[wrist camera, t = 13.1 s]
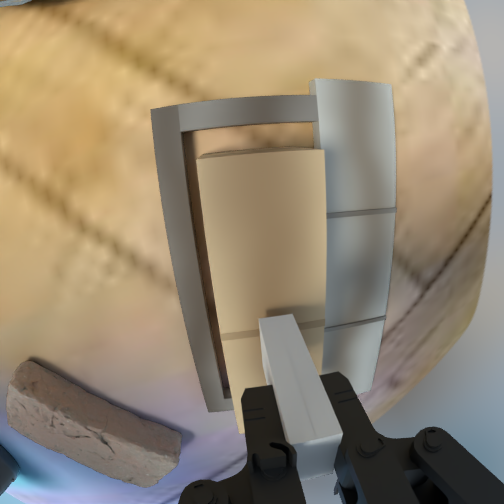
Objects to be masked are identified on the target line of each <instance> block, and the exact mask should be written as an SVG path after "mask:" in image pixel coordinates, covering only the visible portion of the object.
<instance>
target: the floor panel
mask: <svg viewBox="0 0 504 504" xmlns="http://www.w3.org/2000/svg"><path fill="white" fill-rule="evenodd" d="M309 89H310V95H281V96H258V97H243V98H230V99H220V100H211V101H202V102H194V103H187V104H180V105H174V106H167V107H161V108H156V109H151V120H152V130H153V140H154V149H155V157H156V165H157V173H158V180H159V188H160V194H161V201H162V208H163V214H164V220H165V226H166V232H167V238H168V244H169V249H170V254H171V260H172V265H173V270H174V275H175V280H176V285H177V290H178V295H179V299H180V304H181V308H182V313H183V317H184V322H185V326H186V330H187V334H188V338H189V342H190V346H191V350H192V354H193V358H194V362H195V366H196V370H197V374H198V377H199V381H200V384H201V388H202V392H203V395H204V399H205V402H206V406H207V409H208V412H219V411H229V410H234V406H233V401H232V395H231V390H230V388H225V389H224V388H223V384H222V379H221V374H220V370H219V365H218V360H217V355H216V350H215V345H214V340H213V334H212V329H211V324H210V318H209V313H208V307H207V302H206V296H205V290H204V284H203V278H202V272H201V266H200V260H199V253H198V247H197V240H196V233H195V226H194V219H193V212H192V205H191V197H190V190H189V182H188V173H187V165H186V156H185V147H184V138H183V132H189V131H197V130H205V129H213V128H223V127H233V126H244V125H257V124H272V123H295V122H312V124H313V138H314V149H323V150H324V157H325V180H326V224H327V258H326V302H325V326H324V343H323V359H322V372H321V375H323V374H328V373H333V372H337V371H339V372H340V373H341V374H343V375H344V376H345V377H346V378H348V379H349V381H350V383H351V385H352V387H353V390H354V391H355V393H356V394H360V393H364V392H367V391H370V390H371V386H372V382H373V378H374V373H375V368H376V364H377V359H378V354H379V349H380V343H381V338H382V332H383V326H384V320H386V316H385V314H386V307H387V300H388V292H389V284H390V275H391V265H392V254H393V242H394V226H395V213H396V210H397V208H395V203H396V148H395V125H394V110H393V98H392V88H391V84H383V83H375V82H365V81H353V80H338V79H313V80H312V81H310V82H309Z"/></svg>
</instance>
